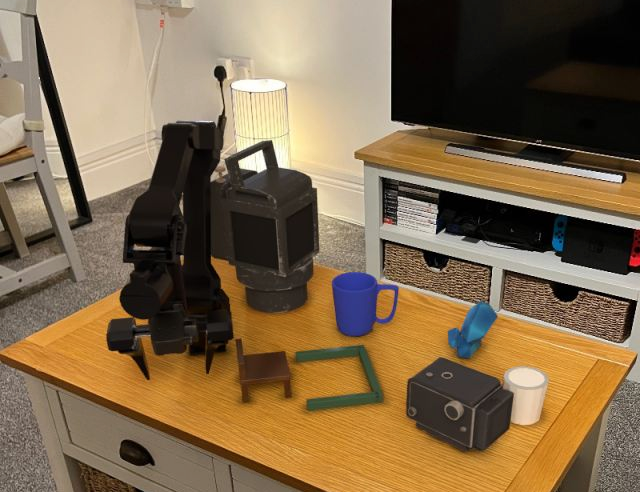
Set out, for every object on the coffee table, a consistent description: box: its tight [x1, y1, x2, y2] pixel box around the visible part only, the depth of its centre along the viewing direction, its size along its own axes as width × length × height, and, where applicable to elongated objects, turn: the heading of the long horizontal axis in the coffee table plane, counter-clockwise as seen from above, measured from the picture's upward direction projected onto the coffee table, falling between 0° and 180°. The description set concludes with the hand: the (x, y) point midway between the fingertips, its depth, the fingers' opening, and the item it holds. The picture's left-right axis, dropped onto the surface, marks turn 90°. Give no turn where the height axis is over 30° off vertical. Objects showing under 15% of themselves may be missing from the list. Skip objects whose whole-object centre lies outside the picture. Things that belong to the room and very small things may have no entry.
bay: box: [294, 344, 384, 412], centre depth 135 cm, size 12×16×2 cm
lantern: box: [211, 139, 320, 314], centre depth 153 cm, size 15×18×30 cm
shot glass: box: [503, 365, 550, 426], centre depth 125 cm, size 7×7×7 cm
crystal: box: [447, 301, 499, 360], centre depth 142 cm, size 7×9×12 cm
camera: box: [405, 356, 514, 452], centre depth 118 cm, size 11×11×15 cm
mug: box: [331, 271, 400, 337], centre depth 147 cm, size 8×12×10 cm
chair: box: [235, 338, 292, 404], centre depth 131 cm, size 8×8×8 cm
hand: (178, 376), depth 129 cm, fingers open, 9 cm apart
